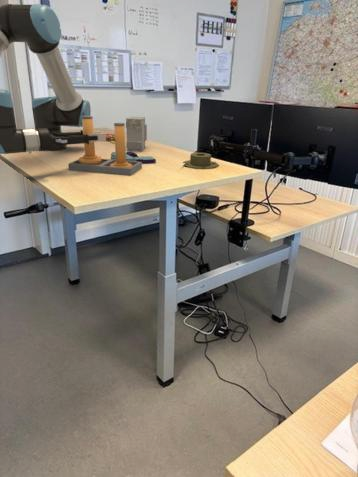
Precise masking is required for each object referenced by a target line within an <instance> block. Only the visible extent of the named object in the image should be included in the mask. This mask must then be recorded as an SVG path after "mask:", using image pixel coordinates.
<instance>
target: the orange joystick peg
mask: <svg viewBox="0 0 358 477" xmlns="http://www.w3.org/2000/svg"><path fill="white" fill-rule="evenodd" d="M93 119H94V118H93V116H91V115H90V116H82V122H83V127H82V130H83V134H84V135H87V134H94V132H95V131H94V120H93ZM83 145H84V155H83V156H80V157H78V159H79V161H80V164H86V165H99V164H101V163H102V160H101V159H102V156H99V155H97V154H96V150H95V146H96V145H95V142H89V144H87V143H83Z"/></svg>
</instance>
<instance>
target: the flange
mask: <svg viewBox="0 0 358 477" xmlns="http://www.w3.org/2000/svg"><path fill="white" fill-rule="evenodd" d="M189 158H190V159H188V160H185V161H183V162H182V164H183V165H182V166H183V167H185V168H188V169H193V170H212V169H217V168H219V163H217V162H215V161H212V154H210V153H206V152H191V153H190V156H189Z"/></svg>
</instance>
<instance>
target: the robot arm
mask: <svg viewBox="0 0 358 477" xmlns="http://www.w3.org/2000/svg"><path fill="white" fill-rule="evenodd" d="M61 38H62V29H61V23H60V20H59V18H58V15H57V13H56V12H55V11H54V10H53V9H52V7H50V6H49V5H46V4H40V3H34V4H21V3H20V4H19V3H16V4H14V3H13V4H12V3H7V4H2V5H0V57H2V54H3V52H4V51H6V50H8V49H9V46H10V45H11V44H12V43H26V45H27V46H28V49H29V51H30V53H31V52H32V54H36V56H37V58H38V60H39V63H40V65H41V67H42V69H43V71H44V73H45V75H46V77H47V80H48V82H49V84H50V86H51V88H52V90H53V92H54V94H55V95H52V96H44V97H35V98H33V99H32V100H31V110H32V115H33V116H32V118H33V122H34V127H33V128H31V127H29V128H19V129H18V128H17V124H16V116H15V109H14V103H13V97H12V94H11V92H10V91H9V90H8V89H0V155H7V154H8V155H9V154H20V153H28V154H30V155H31V154H32V152H48V151H49V152H50V151H58V150H64V149H66V148H67V147H68V146H69V145H78V144H79V145H81V144H83V145H84V143H87V144H89V142H94V143H96V142H107V141H106V134H107V133H105V132H102V131H94V134H87V135H84V134H83V129H82V130H80V131H71V132H70V131H68V132H63V131H62V127H76V128H83V122H82V116H91V111H92V110H91V103H90V102H89V101H88V100H86V99H85V100H84V99H83V98H82V94H81V93H79V92H77V91H76V89H75V86H74V84H73V82H72V78H71V76H70V74H69V70H68V68H67V67H66V63H65V61H64V58H63V56H62V53H61V50H60V48H59V45H60V40H61Z"/></svg>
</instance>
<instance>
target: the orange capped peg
mask: <svg viewBox="0 0 358 477" xmlns="http://www.w3.org/2000/svg"><path fill="white" fill-rule="evenodd" d="M113 126H114V128H113V129H114V130H113V131H114V134H115V140H114V143H115V144H114V147H115V148H114V149H115V151H114V152H116V162H114V163H112V164H110V167H121V168H130V167H132V164H130V163H128V162H126V152H127V149H126V129H125V128H126V122H115V123H113Z"/></svg>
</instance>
